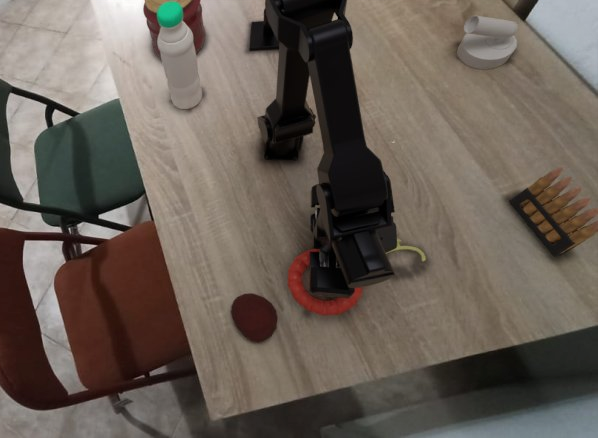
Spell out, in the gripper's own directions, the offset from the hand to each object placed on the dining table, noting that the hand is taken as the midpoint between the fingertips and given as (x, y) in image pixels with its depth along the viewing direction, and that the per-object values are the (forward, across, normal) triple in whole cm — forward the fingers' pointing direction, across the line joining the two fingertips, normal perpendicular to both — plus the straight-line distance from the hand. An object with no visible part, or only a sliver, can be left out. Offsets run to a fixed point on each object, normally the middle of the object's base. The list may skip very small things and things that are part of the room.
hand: (324, 255), depth 78 cm
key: (+1, +3, -11) cm, 12 cm away
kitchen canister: (+1, +53, +33) cm, 63 cm away
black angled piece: (+1, +53, +12) cm, 55 cm away
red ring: (0, -5, 0) cm, 5 cm away
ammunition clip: (+1, +8, -32) cm, 33 cm away
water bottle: (+1, +36, +29) cm, 46 cm away
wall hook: (+1, +45, -28) cm, 53 cm away
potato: (+1, -13, +11) cm, 17 cm away
